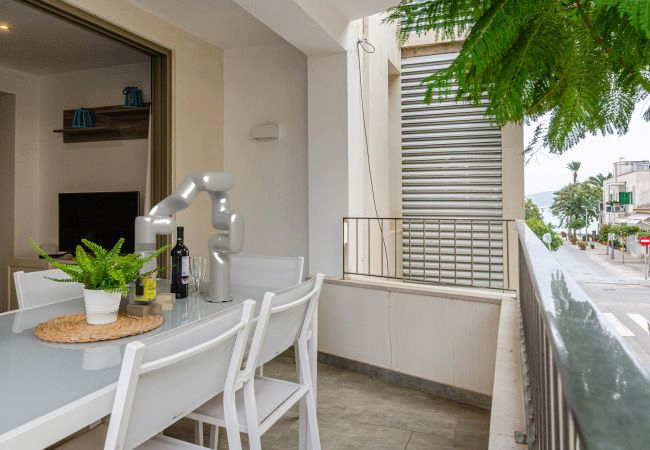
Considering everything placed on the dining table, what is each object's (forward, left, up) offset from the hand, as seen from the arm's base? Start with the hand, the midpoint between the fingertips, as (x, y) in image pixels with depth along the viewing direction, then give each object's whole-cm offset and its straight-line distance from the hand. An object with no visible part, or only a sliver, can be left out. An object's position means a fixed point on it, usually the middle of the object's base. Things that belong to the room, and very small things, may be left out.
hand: (145, 293), depth 171 cm
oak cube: (-16, -1, -9) cm, 18 cm away
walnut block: (0, 0, -9) cm, 9 cm away
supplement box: (0, 0, -3) cm, 3 cm away
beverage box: (-16, -12, -9) cm, 22 cm away
